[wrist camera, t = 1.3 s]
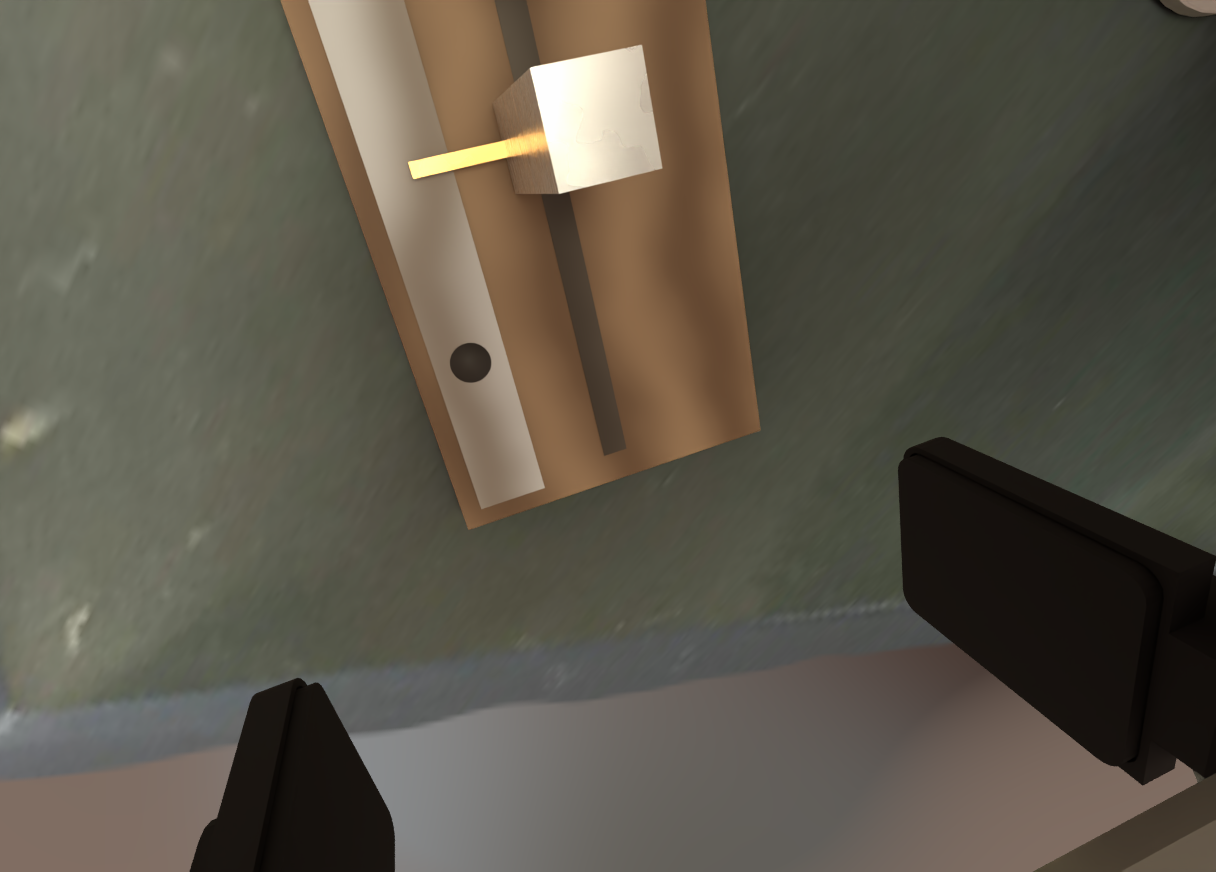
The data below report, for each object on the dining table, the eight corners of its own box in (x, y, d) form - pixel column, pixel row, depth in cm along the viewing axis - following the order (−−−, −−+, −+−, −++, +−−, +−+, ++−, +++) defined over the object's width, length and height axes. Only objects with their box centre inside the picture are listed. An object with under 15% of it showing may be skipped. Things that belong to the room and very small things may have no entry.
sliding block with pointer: (574, 85, 26) (642, 44, 19) (592, 175, 27) (662, 168, 20) (395, 124, 25) (395, 95, 17) (424, 215, 26) (435, 224, 19)
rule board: (660, -168, 26) (800, -358, 17) (742, 418, 36) (855, 492, 27) (245, -110, 23) (147, -306, 14) (464, 511, 33) (489, 629, 24)
